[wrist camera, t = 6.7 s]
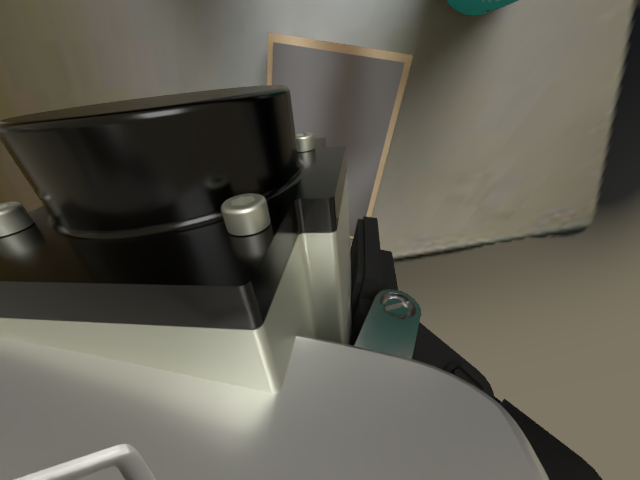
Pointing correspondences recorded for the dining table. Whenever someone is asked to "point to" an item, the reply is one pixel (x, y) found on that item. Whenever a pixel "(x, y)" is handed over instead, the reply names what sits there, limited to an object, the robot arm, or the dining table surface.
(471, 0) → the beverage can
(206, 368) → the pneumatic valve
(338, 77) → the framed panel
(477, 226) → the dining table surface
